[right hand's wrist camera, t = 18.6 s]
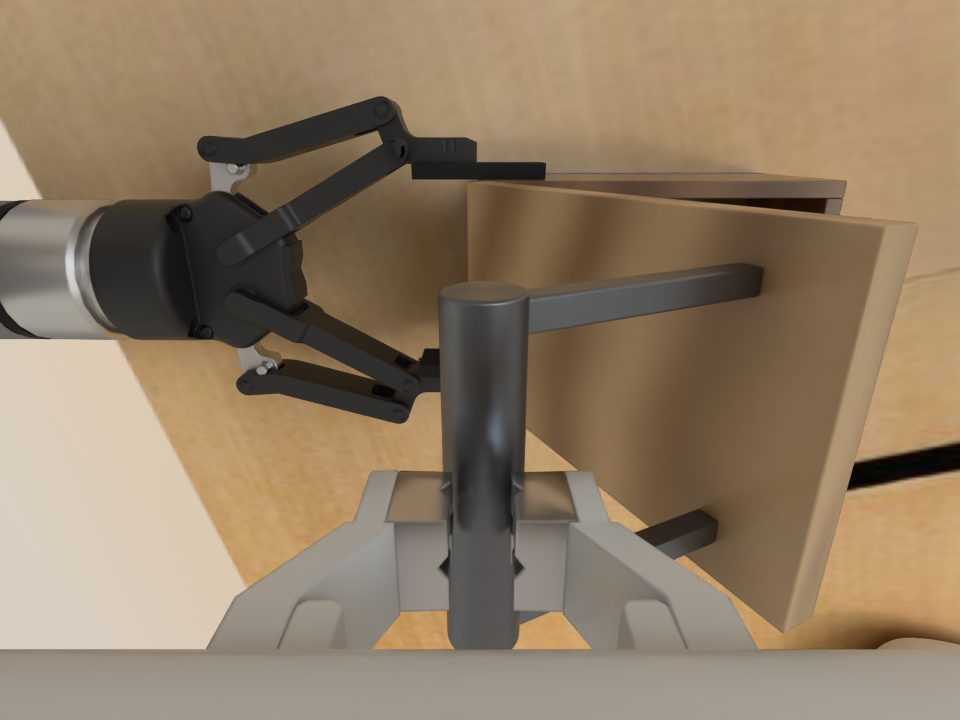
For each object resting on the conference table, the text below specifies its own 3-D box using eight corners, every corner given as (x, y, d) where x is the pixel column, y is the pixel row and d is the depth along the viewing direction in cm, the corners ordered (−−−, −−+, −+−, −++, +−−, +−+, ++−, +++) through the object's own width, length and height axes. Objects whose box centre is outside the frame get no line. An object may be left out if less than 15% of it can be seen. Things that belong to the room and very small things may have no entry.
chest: (757, 172, 34) (848, 180, 25) (732, 326, 37) (804, 378, 29) (481, 173, 34) (478, 180, 26) (481, 325, 38) (478, 376, 29)
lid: (921, 223, 11) (522, 263, 7) (812, 618, 14) (508, 789, 10) (489, 181, 25) (288, 186, 22) (488, 379, 29) (314, 413, 25)
